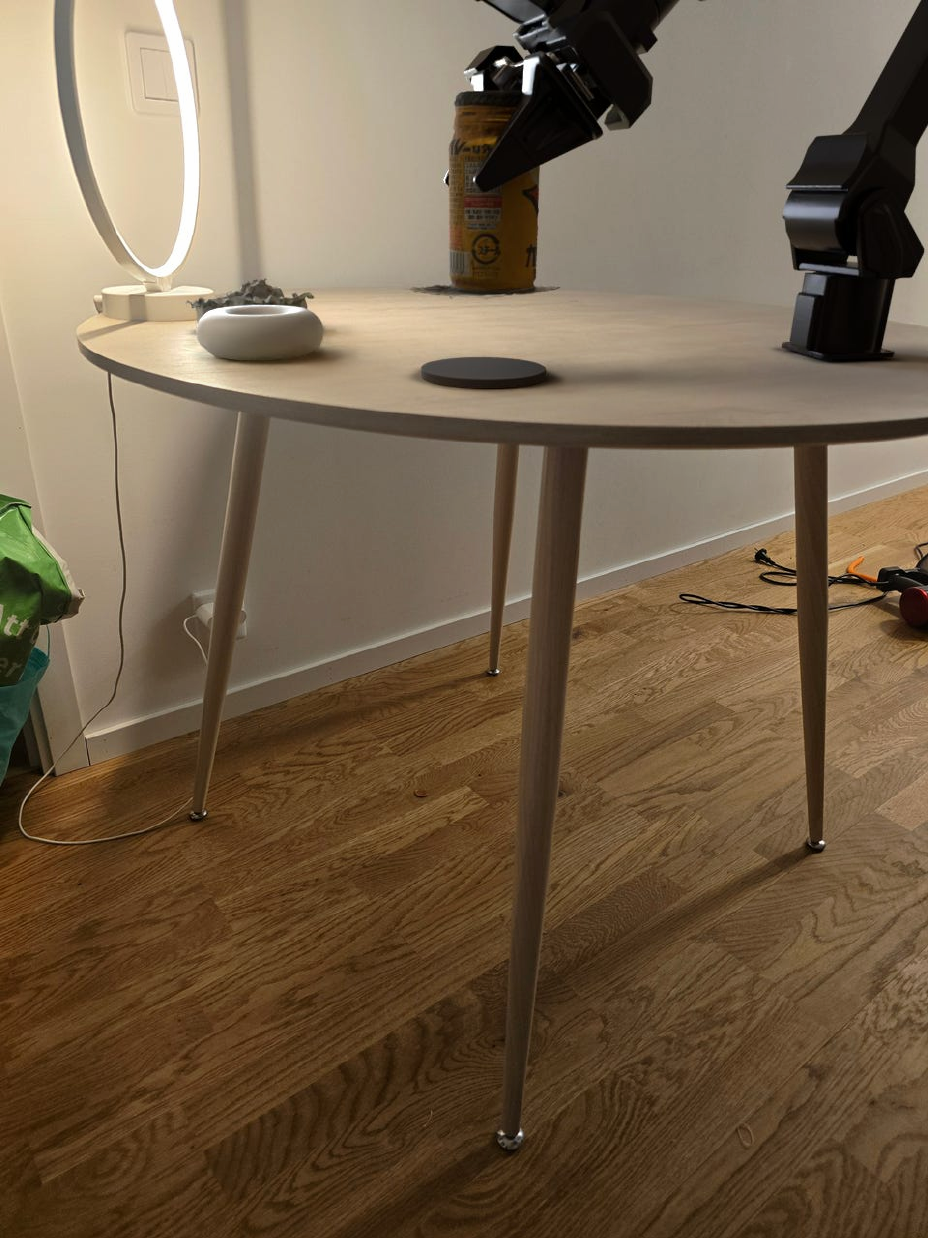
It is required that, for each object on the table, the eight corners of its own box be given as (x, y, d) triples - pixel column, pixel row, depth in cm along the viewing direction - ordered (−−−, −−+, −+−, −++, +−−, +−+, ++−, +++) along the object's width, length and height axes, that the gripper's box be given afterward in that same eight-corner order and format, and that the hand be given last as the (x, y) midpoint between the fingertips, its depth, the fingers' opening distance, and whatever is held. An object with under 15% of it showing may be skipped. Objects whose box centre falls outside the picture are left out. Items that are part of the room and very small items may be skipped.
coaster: (524, 362, 68) (524, 354, 68) (564, 385, 61) (564, 376, 60) (410, 366, 66) (410, 358, 66) (435, 391, 59) (435, 381, 58)
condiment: (561, 290, 62) (569, 92, 57) (487, 302, 56) (489, 82, 51) (479, 283, 66) (480, 98, 61) (403, 294, 60) (396, 90, 55)
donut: (241, 342, 77) (172, 358, 69) (238, 300, 76) (167, 311, 67) (345, 349, 74) (287, 366, 66) (343, 306, 73) (283, 318, 64)
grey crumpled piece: (270, 320, 90) (266, 277, 88) (323, 327, 86) (321, 281, 84) (183, 331, 82) (177, 284, 80) (238, 339, 78) (233, 289, 76)
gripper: (491, -87, 60) (343, 97, 62) (619, -185, 44) (415, 66, 46) (589, 53, 66) (451, 218, 68) (734, 11, 50) (548, 227, 52)
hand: (462, 186), depth 58 cm, fingers closed on condiment, 6 cm apart
